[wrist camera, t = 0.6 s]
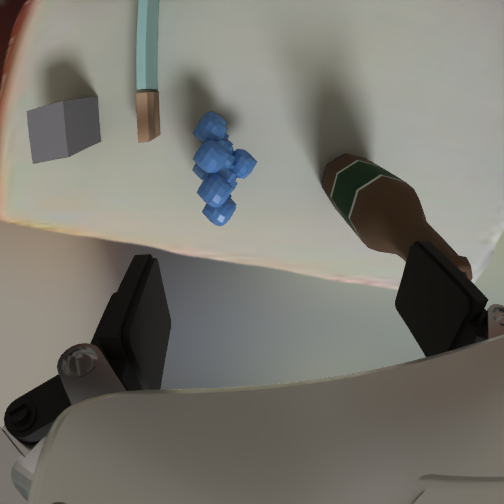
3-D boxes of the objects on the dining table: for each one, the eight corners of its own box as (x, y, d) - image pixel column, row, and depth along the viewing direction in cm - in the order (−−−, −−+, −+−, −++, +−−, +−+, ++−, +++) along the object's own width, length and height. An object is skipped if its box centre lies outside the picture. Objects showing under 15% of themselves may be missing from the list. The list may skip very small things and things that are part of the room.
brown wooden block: (154, -41, 21) (143, -59, 16) (163, -43, 21) (154, -61, 16) (151, 135, 33) (137, 143, 28) (160, 134, 33) (148, 142, 28)
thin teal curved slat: (150, -4, 24) (139, -16, 19) (159, -5, 24) (149, -18, 19) (148, 90, 30) (135, 89, 26) (157, 89, 30) (145, 88, 26)
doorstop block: (65, 103, 30) (27, 111, 22) (97, 96, 30) (63, 100, 22) (69, 146, 33) (33, 163, 25) (101, 141, 33) (68, 157, 25)
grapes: (256, 196, 38) (268, 238, 28) (204, 202, 38) (195, 247, 28) (248, 105, 33) (257, 110, 22) (191, 113, 33) (173, 121, 22)
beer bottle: (308, 187, 38) (393, 307, 18) (342, 140, 35) (469, 214, 15) (350, 216, 41) (443, 337, 20) (382, 173, 38) (504, 266, 17)
